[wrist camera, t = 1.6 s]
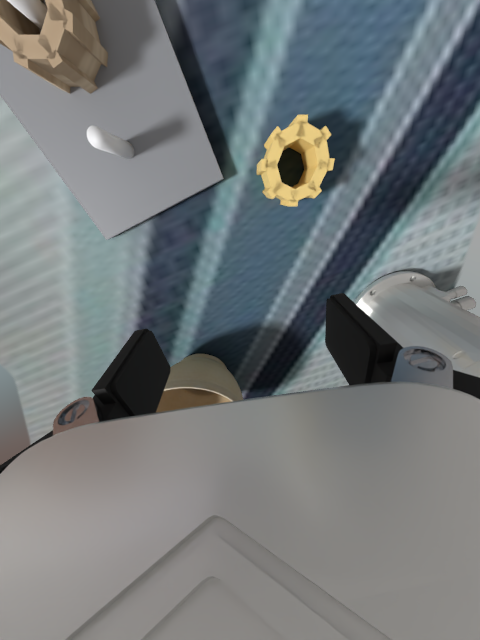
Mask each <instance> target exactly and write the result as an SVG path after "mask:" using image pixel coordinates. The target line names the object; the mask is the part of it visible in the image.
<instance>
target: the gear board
mask: <svg viewBox="0 0 480 640" xmlns="http://www.w3.org/2000/svg"><path fill="white" fill-rule="evenodd" d="M7 1H8V2H9V3H11V4H12V5H13V6H14V7H15V8H16V9H18V10H19V11H20V12H21V13H22V14H24V15H25V16H26V17H27V18H28V19H29V20H31V21H32V22H33V23H34V24H35V25H37V26H38V27H39V30H40V33H41V30H42V27H43V23H44V20H45V17H46V14H47V10H48V9H47V5H46V2H45V0H43V2H41V1H40V0H7ZM91 1H92V3H93V5H94V7H95V9H96V11H97V13H98V15H99V17H100V19H99V20H97V21H96V22H95V23H96V27H97V31H98V36H99V40H100V44H101V46H102V47H103V48H104V49H105V50H106V51H107V52H108V62H107V67H106V66H104V65H102V64H101V66H100V68H99V70H98V73H97V75H96V77H95V80H94V82H95V84H96V86H97V87H98V89H96V90H95V91H94V92H92V93H91V94H90V93H88V92H87V91H85V90H84V89H83V88H81V87H70V94H69V93H67V92H65V91H63V90H61V89H59V88H57V87H56V86H54V85H52V84H51V83H49V82H47V81H46V80H44V79H42V78H41V77H39V76H37V75H36V74H34V73H32V72H31V71H29V70H27V69H26V68H24V67H22V66H21V65H19V64H17V63H16V62H14V57H13V52H12V51H11V50H9V49H8V48H6V47H5V46H3V45H2V44H0V95H1V97H2V98H3V99H4V101H5V102H6V103H7V105H8V106H9V108H10V109H11V110H12V112H13V113H14V114H15V116H16V117H17V118H18V120H19V121H20V123H21V124H22V125H23V127H24V128H25V129H26V131H27V132H28V133H29V135H30V136H31V138H32V139H33V140H34V142H35V143H36V144H37V146H38V147H39V148H40V150H41V151H42V153H43V154H44V155H45V157H46V158H47V159H48V161H49V162H50V163H51V165H52V166H53V168H54V169H55V170H56V172H57V173H58V174H59V176H60V177H61V178H62V180H63V181H64V183H65V184H66V185H67V187H68V188H69V189H70V191H71V192H72V193H73V195H74V196H75V198H76V199H77V200H78V202H79V203H80V204H81V206H82V207H83V208H84V210H85V211H86V213H87V214H88V215H89V217H90V218H91V219H92V221H93V222H94V223H95V225H96V226H97V228H98V229H99V230H100V232H101V233H102V234H103V236H104V237H105V238H106V240H108V239H110V238H113V237H115V236H117V235H119V234H121V233H123V232H124V231H126V230H128V229H130V228H132V227H134V226H136V225H138V224H140V223H142V222H144V221H145V220H147V219H149V218H151V217H153V216H155V215H157V214H159V213H161V212H163V211H164V210H166V209H168V208H170V207H172V206H174V205H176V204H178V203H180V202H182V201H183V200H185V199H187V198H189V197H191V196H193V195H195V194H197V193H199V192H201V191H203V190H204V189H206V188H208V187H210V186H212V185H214V184H216V183H218V182H220V181H222V180H223V179H224V178H223V175H222V173H221V170H220V168H219V165H218V163H217V160H216V157H215V155H214V152H213V150H212V147H211V144H210V142H209V139H208V137H207V134H206V132H205V129H204V126H203V124H202V121H201V119H200V116H199V114H198V111H197V108H196V106H195V103H194V101H193V98H192V95H191V93H190V90H189V88H188V85H187V83H186V80H185V77H184V75H183V72H182V70H181V67H180V64H179V62H178V59H177V57H176V54H175V52H174V49H173V46H172V44H171V41H170V39H169V36H168V33H167V31H166V28H165V26H164V23H163V21H162V18H161V15H160V13H159V10H158V8H157V5H156V2H155V0H91Z"/></svg>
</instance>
